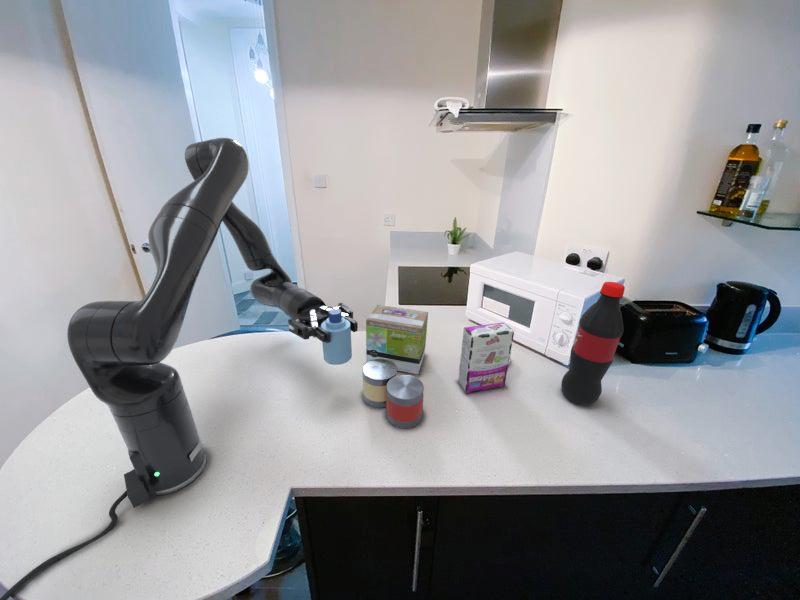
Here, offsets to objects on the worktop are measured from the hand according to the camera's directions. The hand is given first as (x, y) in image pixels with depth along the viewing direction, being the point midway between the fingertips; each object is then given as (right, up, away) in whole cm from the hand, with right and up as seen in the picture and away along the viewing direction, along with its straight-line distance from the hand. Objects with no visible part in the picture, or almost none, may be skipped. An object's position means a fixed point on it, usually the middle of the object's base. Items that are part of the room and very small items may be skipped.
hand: (342, 332), depth 64 cm
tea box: (+11, -11, +26) cm, 30 cm away
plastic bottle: (-2, -6, +4) cm, 7 cm away
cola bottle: (+56, -17, +14) cm, 60 cm away
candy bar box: (+32, -15, +17) cm, 40 cm away
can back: (+7, -17, +12) cm, 22 cm away
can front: (+13, -19, +7) cm, 24 cm away
